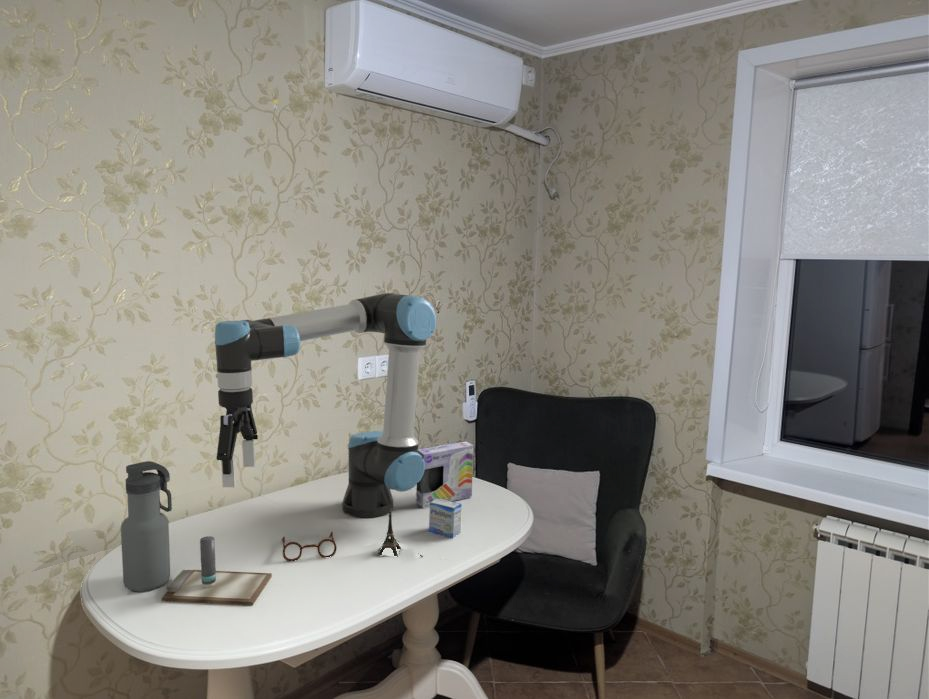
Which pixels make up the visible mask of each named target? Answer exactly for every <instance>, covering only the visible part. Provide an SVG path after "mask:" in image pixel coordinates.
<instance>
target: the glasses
mask: <svg viewBox="0 0 929 699" xmlns="http://www.w3.org/2000/svg"><path fill="white" fill-rule="evenodd" d="M285 539H286V537H285V536H282V538H281V541H282V556H283V558H284V560H285V561H287V562H295V560H296V561H298V560H299V559H300V558H301V557H302V553H303V549H306V548H307V549H308V548H316V549H317V554H318V556H320V557H321V558H323V557H330V556H331V557H330V558H332V557H334V556H335V554H336V552H337V543H336V541H335V538H334V534H333V531H331V532H330V533H329V538H325V539H321V541H319V542H318V543H317V544H314V543H313V544H305V545H301V544H300V543H299V542H297V541H290V542H288V543H286V544H285V542H286V540H285ZM325 542H329V543H332V544H333V551H332V552H331V553H330V554H329V555H327V554H326V555H324V554H322V552H321V550H320V549H321V546H322V544H324V543H325ZM291 545H295V546H297V547H298V549H299V554H298V556H296V557H294V558H289V557H287V555H286V549H287V548H288V547H289V546H291Z"/></svg>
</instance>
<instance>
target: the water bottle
mask: <svg viewBox="0 0 929 699" xmlns="http://www.w3.org/2000/svg"><path fill="white" fill-rule="evenodd" d="M153 470H154V471H155V470H156V472H157V473H155V472H152V471H153ZM148 471H149V472H148ZM150 471H151V472H150ZM125 472H126V473H127V478H125V481H124V482H125V493H126V494H127V496H126V497H127V513H128V514H127V517H125V519H124V520H123V521H122V523H121V525H120V537H121V538H120V539H121V540H120V542H121V558H122V560H121V562H122V580H123V582H122V583H123V586H124V587H125V589H128V590H129V591H133V592H146V591H147V592H149V591H152V589H153V590H154V589H155V588H156V589H158V588H160V587H162V586H164V585H165V584H167V583H168V582H169V581H170V578H171V556H170V553H171V552H170V528H169V527H170V526H169V519H168V516H167V515H165V514H164V513H162V512H161V510H163V511H165V512H167V513H168V512H171V511H172V509H173V508H172V507H173V506H172V505H173V503H172V502H173V501H172V492H171V491H170V490H169V489H168V482H170V481H171V480H170V479H171V477H170V476H171V475H170V472H169V470H168V469H167V468H166V467H165V466H163V465H161V464H159V463H157V462H155V461H152V460H151V461H150V460H149V461H148V460H145V461H142V462H137V463H132V464H128V465H126V467H125ZM161 491H162V492H164V493H165V494H166V496H167V506H165V505H163V504H162V503H161V496H160V495H161V494H160V493H161Z"/></svg>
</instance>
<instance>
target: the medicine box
mask: <svg viewBox="0 0 929 699" xmlns="http://www.w3.org/2000/svg"><path fill="white" fill-rule="evenodd" d="M462 507H463V506H462V503H459V502H456V501H452V502H451V501H447V500H442V499H438V498H437V499H435V500H433V501H432V502H431V503H430V507H429V514H428V515H429V516H428V518H429V519H428V532H429V533H432V534H434V535H435V534H436V535H439V534H440V536H443V535H444V537H447V536H448V537H447V538H451V537H452V539H454V538H455V537H457V536H458V535H459V534H460V533H461V531H462V530H461V529H462V528H461V527H462V526H461V525H462ZM456 535H457V536H456ZM453 537H454V538H453Z"/></svg>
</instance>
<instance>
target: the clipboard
mask: <svg viewBox="0 0 929 699" xmlns="http://www.w3.org/2000/svg"><path fill="white" fill-rule="evenodd" d="M272 576H273V574H272V573H271V572H250V571H249V572H248V571H232V570H231V571H230V570H229V571H227V570H226V571H225V570H216V581H215V585H214V586H213V587H210V588H205V587H203V583H202V580H201V569H182V570H181V571H180V572H179V573H178V574H177V575H176V577H174V578H173V580H172V581H171V582H170V583H169V584H168V585H167V586H166V592H165V593H164V595H162V596H161V602H173V603H174V602H175V603H192V604H194V603H195V604H197V603H198V604H215V605H216V604H219V605H237V606H238V605H239V606H254V604H255V603H256V601H257V599H258V598H259V597H260V595H261V593H262V592H263V590H264V589H265V588H266V586H267V585H268V583H269V582H270V579H271V578H272Z"/></svg>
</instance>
